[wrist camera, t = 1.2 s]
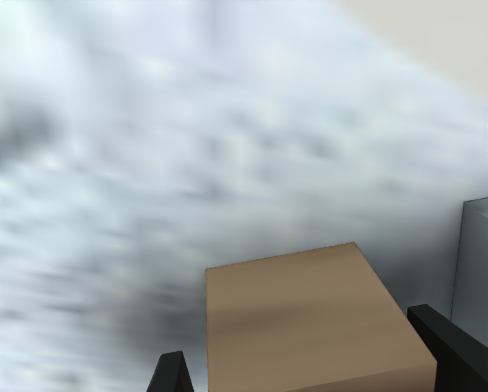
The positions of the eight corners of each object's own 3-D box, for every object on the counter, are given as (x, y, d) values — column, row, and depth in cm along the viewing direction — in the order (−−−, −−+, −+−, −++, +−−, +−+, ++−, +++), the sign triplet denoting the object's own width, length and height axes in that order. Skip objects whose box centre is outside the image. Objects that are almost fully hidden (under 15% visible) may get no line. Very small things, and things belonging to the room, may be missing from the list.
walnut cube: (355, 348, 15) (423, 491, 10) (229, 372, 15) (242, 528, 10) (353, 241, 13) (437, 362, 8) (205, 267, 13) (208, 406, 8)
